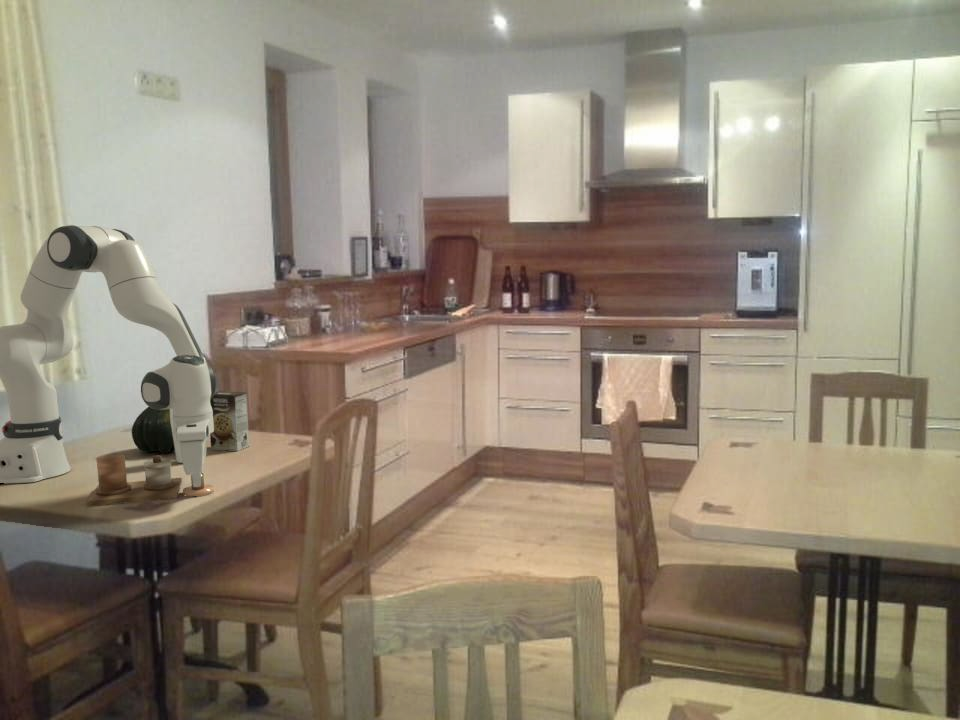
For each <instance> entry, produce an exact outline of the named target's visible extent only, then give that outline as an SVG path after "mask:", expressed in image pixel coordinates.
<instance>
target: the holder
mask: <svg viewBox="0 0 960 720" xmlns="http://www.w3.org/2000/svg"><path fill="white" fill-rule="evenodd" d="M142 465H143V468H144V475H145V476H144V477H145V480H139V481H130V482H129V481H128V480H127V478H128V477H127V468H126V457H125V454H122V453H121V454H120V453H117V454H115V453H114V454H107V455H101V456H98V457H97V458H96V467H97V479H98V480H97V481H98V485H97V486H96V487H95V489H94V490H93V492H92V493H91V495H90V496H89V497H88V499H87V501H86V504H87V507H96V506H97V507H98V506H106V505H105V504H109V505H116V504H115V503H119V504H125V503H124V502H130V503H136V502H135V501H141V502H148V501H147V500H151V501H158V500H157V499H162V500H169V499H168V498H173V499H177V498H178V497H179V494H178V493H180V490H181V487H182V484H183V478H182V477H174V478H173V477H172V473H171V472H172V471H171V465H172V461H171V459H169V458H162V456H161V454H160V455H159V454H158V455H153V456H152V459H151V460H147V461H145V462H143V463H142ZM181 483H182V484H181ZM180 486H181V487H180ZM177 496H178V497H177ZM176 497H177V498H176Z"/></svg>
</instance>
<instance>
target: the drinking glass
mask: <svg viewBox="0 0 960 720" xmlns="http://www.w3.org/2000/svg"><path fill="white" fill-rule="evenodd" d="M170 423H171V430H172V435H173V441H174V447H175V451H174V452H175V460H176V462H177V463H178V464H183V461H182V455H181V449H180V441H177V439H176V436H175V435H174V427H173V410H172V409H170Z"/></svg>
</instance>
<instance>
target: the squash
mask: <svg viewBox="0 0 960 720" xmlns="http://www.w3.org/2000/svg"><path fill="white" fill-rule="evenodd" d="M131 437H132V438H131V439H132V441H133V443H134V445H135V446H136V447H137V449H139V450H140V451H141V452H143V453H152V452H154V451H156V452H157V451H158V452H160V453H161V454H164V455H165V454H168V453H169V452H175V447H174V441H173V435H172V430H171V423H170V409H165V410H154V409H152V408H150V407H149V406H147V407H146V408H145V409H144V410H143V411H141V413H140V414H139V415H138V416H137V417H136V419H135V420H134V422H133V424H132V428H131Z"/></svg>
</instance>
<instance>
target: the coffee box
mask: <svg viewBox="0 0 960 720" xmlns="http://www.w3.org/2000/svg"><path fill="white" fill-rule="evenodd" d="M247 396H248V395H247V392H246V391H230V390H229V391H226V390H219V391H216V392H215V394H214V396H213V398H212V399H211V400H210V404H211V407H212V410H213V423H214V432H212V433H210V435H209V440H210V450H213V451H226V450H229V451H230V452H239V451H242V450H244V449H246V447H247V448H249V447H250V437H249V419H248V417H249V415H248V414H249V413H248V399H247V398H248V397H247ZM248 446H249V447H248ZM243 448H244V449H243ZM241 449H242V450H241ZM229 451H228V452H229Z"/></svg>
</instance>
